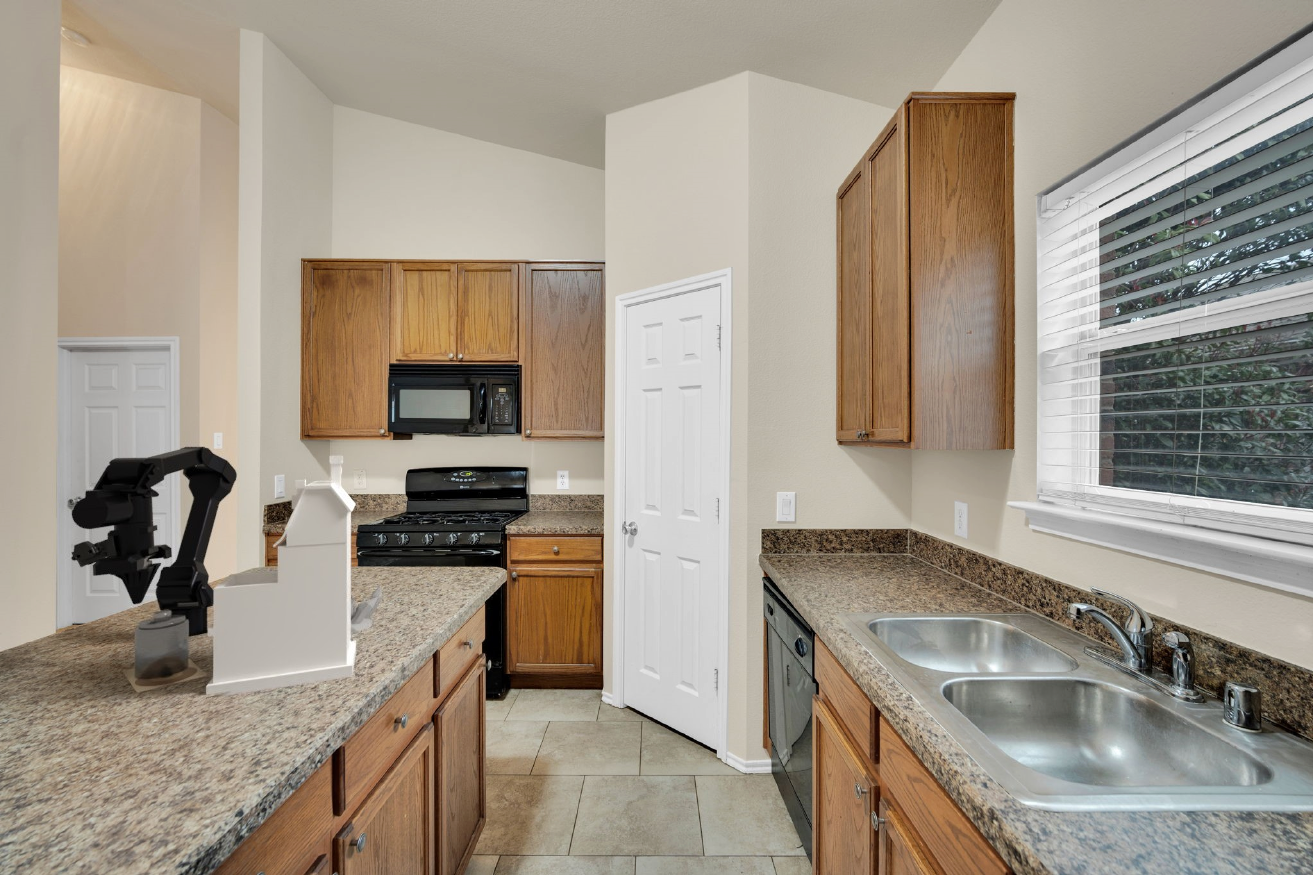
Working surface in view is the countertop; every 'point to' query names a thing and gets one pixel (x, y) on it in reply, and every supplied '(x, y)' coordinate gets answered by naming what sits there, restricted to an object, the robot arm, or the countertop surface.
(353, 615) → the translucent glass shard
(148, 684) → the tan rectangular board
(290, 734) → the countertop surface
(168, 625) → the grey lidded jar
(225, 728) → the countertop surface
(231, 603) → the dollhouse
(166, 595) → the robot arm
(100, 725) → the countertop surface
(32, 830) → the countertop surface
